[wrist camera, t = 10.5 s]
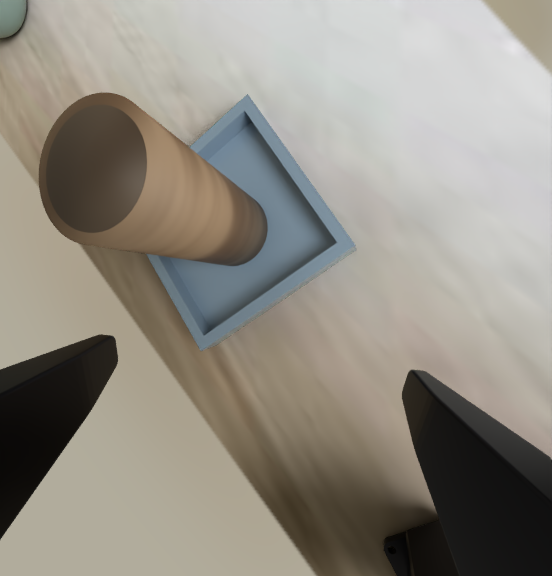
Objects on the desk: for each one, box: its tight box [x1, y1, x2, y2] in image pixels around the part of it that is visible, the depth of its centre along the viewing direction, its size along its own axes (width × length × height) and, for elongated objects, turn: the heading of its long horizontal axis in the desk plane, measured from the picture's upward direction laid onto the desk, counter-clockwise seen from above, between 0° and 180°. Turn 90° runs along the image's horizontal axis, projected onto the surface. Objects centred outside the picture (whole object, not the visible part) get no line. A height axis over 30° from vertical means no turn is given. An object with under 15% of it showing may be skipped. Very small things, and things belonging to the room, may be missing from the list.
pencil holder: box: [39, 93, 268, 266], centre depth 17 cm, size 6×6×12 cm
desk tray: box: [146, 94, 356, 351], centre depth 22 cm, size 13×13×2 cm
